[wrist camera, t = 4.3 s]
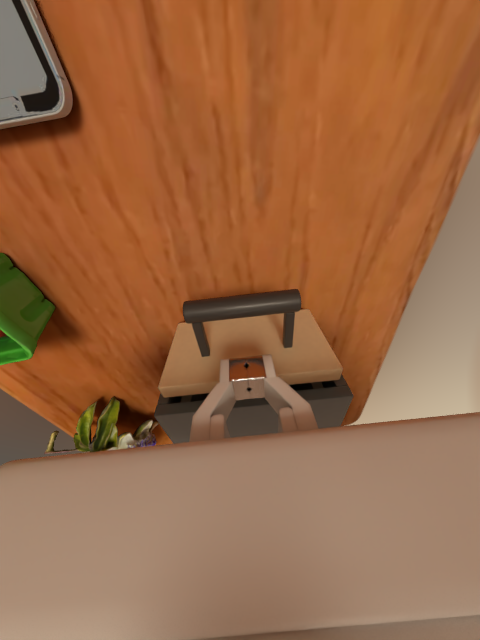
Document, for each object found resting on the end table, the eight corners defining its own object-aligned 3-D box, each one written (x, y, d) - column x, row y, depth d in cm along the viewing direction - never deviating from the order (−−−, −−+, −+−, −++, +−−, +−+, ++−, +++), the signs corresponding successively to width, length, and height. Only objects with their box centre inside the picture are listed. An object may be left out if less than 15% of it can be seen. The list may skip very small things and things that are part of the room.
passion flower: (161, 389, 34) (169, 469, 31) (92, 404, 33) (92, 491, 29) (137, 390, 24) (144, 512, 20) (32, 412, 22) (20, 551, 18)
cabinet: (178, 331, 20) (153, 416, 13) (310, 316, 20) (354, 395, 13) (207, 408, 29) (201, 483, 22) (298, 399, 29) (321, 471, 22)
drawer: (161, 277, 16) (125, 335, 10) (315, 259, 15) (363, 309, 10) (207, 403, 26) (202, 463, 21) (297, 393, 26) (316, 452, 21)
